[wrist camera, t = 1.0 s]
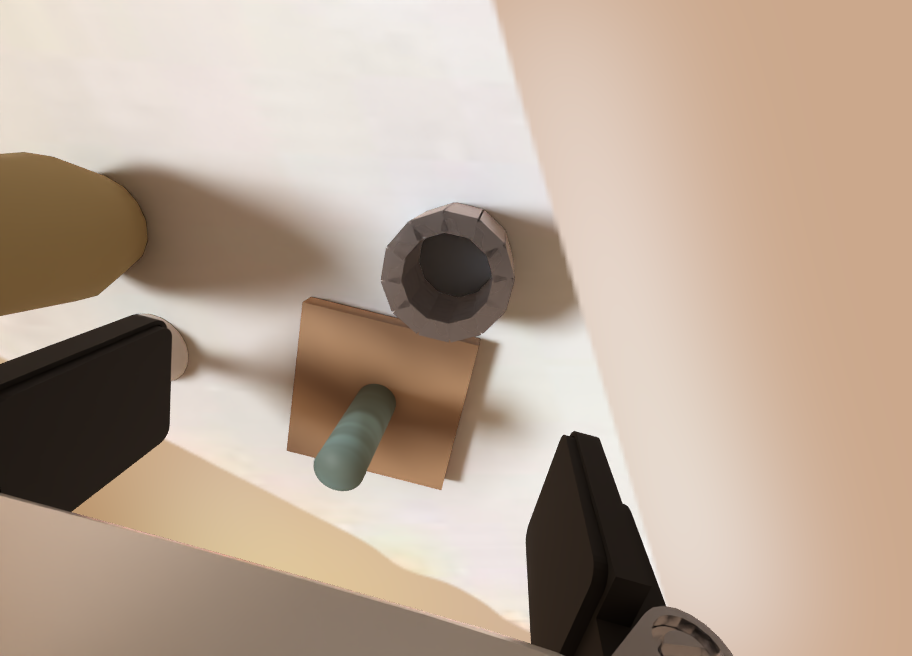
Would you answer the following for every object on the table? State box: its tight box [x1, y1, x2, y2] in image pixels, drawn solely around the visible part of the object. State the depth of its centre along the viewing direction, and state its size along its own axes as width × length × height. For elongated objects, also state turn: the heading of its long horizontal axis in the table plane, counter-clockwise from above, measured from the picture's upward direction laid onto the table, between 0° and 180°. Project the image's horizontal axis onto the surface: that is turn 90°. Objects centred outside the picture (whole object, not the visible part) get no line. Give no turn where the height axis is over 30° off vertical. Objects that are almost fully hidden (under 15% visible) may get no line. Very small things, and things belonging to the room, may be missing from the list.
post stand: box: [287, 297, 480, 491], centre depth 27 cm, size 11×11×8 cm
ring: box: [381, 203, 515, 343], centre depth 25 cm, size 6×6×5 cm
